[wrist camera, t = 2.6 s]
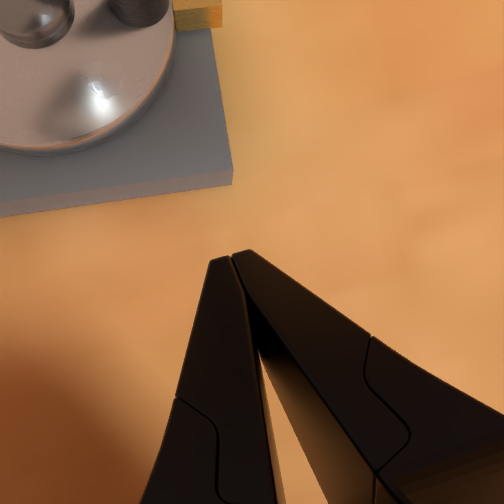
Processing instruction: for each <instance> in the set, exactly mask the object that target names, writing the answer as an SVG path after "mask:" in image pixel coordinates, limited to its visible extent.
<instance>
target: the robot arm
mask: <svg viewBox="0 0 504 504" xmlns="http://www.w3.org/2000/svg"><path fill="white" fill-rule="evenodd" d="M259 356H260V358H261V361H262V363H263V366H264V368H265V370H266V372H267V374H268V377H269V379H270V381H271V383H272V385H273V387H274V389H275V391H276V394H277V396H278V398H279V400H280V402H281V404H282V406H283V408H284V411H285V413H286V415H287V417H288V419H289V421H290V423H291V425H292V428H293V430H294V432H295V434H296V436H297V438H298V440H299V442H300V445H301V447H302V449H303V451H304V453H305V455H306V457H307V459H308V462H309V464H310V466H311V468H312V470H313V472H314V474H315V476H316V479H317V481H318V483H319V485H320V487H321V489H322V491H323V493H324V496H325V498H326V500H327V502H328V504H504V415H503V414H502V413H500V412H498V411H496V410H494V409H493V408H491V407H489V406H487V405H485V404H484V403H482V402H480V401H478V400H477V399H475V398H473V397H471V396H469V395H468V394H466V393H464V392H462V391H460V390H459V389H457V388H455V387H453V386H452V385H450V384H448V383H446V382H444V381H443V380H441V379H439V378H438V377H436V376H434V375H433V374H431V373H429V372H427V371H426V370H424V369H422V368H421V367H419V366H417V365H416V364H414V363H413V362H411V361H410V360H408V359H407V358H405V357H404V356H402V355H401V354H399V353H398V352H396V351H395V350H393V349H392V348H390V347H389V346H387V345H386V344H384V343H383V342H382V341H380V340H379V339H377V338H376V337H375V336H372V337H371V334H370V333H369V332H367V331H366V330H364V329H363V328H362V327H360V326H359V325H357V324H356V323H355V322H353V321H352V320H350V319H349V318H348V317H346V316H345V315H343V314H342V313H340V312H339V311H338V310H336V309H335V308H333V307H332V306H331V305H329V304H328V303H326V302H325V301H324V300H322V299H321V298H319V297H318V296H317V295H315V294H314V293H312V292H311V291H309V290H308V289H307V288H305V287H304V286H302V285H301V284H300V283H298V282H297V281H295V280H294V279H293V278H291V277H290V276H288V275H287V274H285V273H284V272H283V271H281V270H280V269H278V268H277V267H276V266H274V265H273V264H271V263H270V262H269V261H267V260H266V259H264V258H263V257H262V256H260V255H259V254H257V253H256V252H254V251H253V250H251V249H248V250H244V251H241V252H237V253H234V254H232V256H231V257H230V256H228V255H227V256H223V257H219V258H216V259H212V260H211V261H210V262H209V265H208V268H207V272H206V276H205V280H204V284H203V288H202V292H201V296H200V300H199V304H198V307H197V311H196V315H195V319H194V323H193V327H192V331H191V335H190V339H189V343H188V346H187V350H186V354H185V358H184V362H183V366H182V370H181V374H180V378H179V382H178V385H177V389H176V393H175V397H176V398H175V399H174V400H173V404H172V408H171V412H170V416H169V419H168V423H167V426H166V430H165V433H164V436H163V440H162V443H161V447H160V449H159V452H158V455H157V458H156V460H155V463H154V466H153V469H152V471H151V474H150V477H149V480H148V482H147V485H146V487H145V490H144V492H143V495H142V497H141V500H140V502H139V504H286V500H285V494H284V489H283V483H282V478H281V472H280V467H279V461H278V456H277V450H276V444H275V439H274V433H273V428H272V422H271V417H270V411H269V405H268V400H267V394H266V389H265V383H264V378H263V372H262V367H261V363H260V358H259Z"/></svg>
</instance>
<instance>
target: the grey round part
mask: <svg viewBox="0 0 504 504" xmlns="http://www.w3.org/2000/svg"><path fill="white" fill-rule="evenodd" d="M175 23H176V26H175ZM220 27H222V1H221V0H0V150H2V151H5V152H8V153H13V154H19V155H24V156H35V157H53V156H64V155H69V154H75V153H80V152H83V151H86V150H89V149H92V148H95V147H98V146H100V145H102V144H104V143H106V142H108V141H110V140H112V139H114V138H116V137H117V136H119V135H120V134H122V133H123V132H125V131H127V130H128V129H129V128H130V127H131V126H133V125H134V124H135V123H136V122H137V121H139V120H140V119H141V118H142V116H143V115H144V114H145V113H146V112H147V111H148V110H149V109H150V108H151V106H152V105H153V104H154V102H155V101H156V99H157V98H158V96H159V95H160V93H161V91H162V89H163V87H164V85H165V83H166V82H167V79H168V76H169V74H170V71H171V68H172V65H173V60H174V55H175V48H176V29H177V32H183V31H192V30H201V29H210V28H220Z"/></svg>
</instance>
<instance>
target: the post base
mask: <svg viewBox="0 0 504 504" xmlns="http://www.w3.org/2000/svg"><path fill="white" fill-rule="evenodd" d="M175 26H176V23H175ZM232 177H233V165H232V159H231V153H230V147H229V141H228V134H227V128H226V122H225V116H224V110H223V104H222V98H221V91H220V85H219V79H218V73H217V67H216V61H215V55H214V48H213V42H212V36H211V30H210V29H201V30H192V31H183V32H177V29H176V48H175V55H174V60H173V65H172V68H171V71H170V74H169V76H168V79H167V82H166V83H165V85H164V87H163V89H162V91H161V93H160V95H159V96H158V98H157V99H156V101H155V102H154V104H153V105H152V106H151V108H150V109H149V110H148V111H147V112H146V113H145V114H144V115H143V116H142V118H141V119H140V120H139V121H137V122H136V123H135V124H134V125H133V126H131V127H130V128H129V129H128V130H127V131H125V132H123V133H122V134H120V135H119V136H117V137H116V138H114V139H112V140H110V141H108V142H106V143H104V144H102V145H100V146H98V147H95V148H92V149H89V150H86V151H83V152H80V153H75V154H69V155H64V156H53V157H35V156H24V155H19V154H13V153H8V152H5V151H2V150H0V217H5V216H12V215H19V214H26V213H34V212H41V211H48V210H55V209H62V208H69V207H76V206H83V205H90V204H97V203H104V202H112V201H119V200H126V199H133V198H140V197H147V196H154V195H161V194H168V193H175V192H182V191H189V190H197V189H204V188H211V187H218V186H225V185H232Z"/></svg>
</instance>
